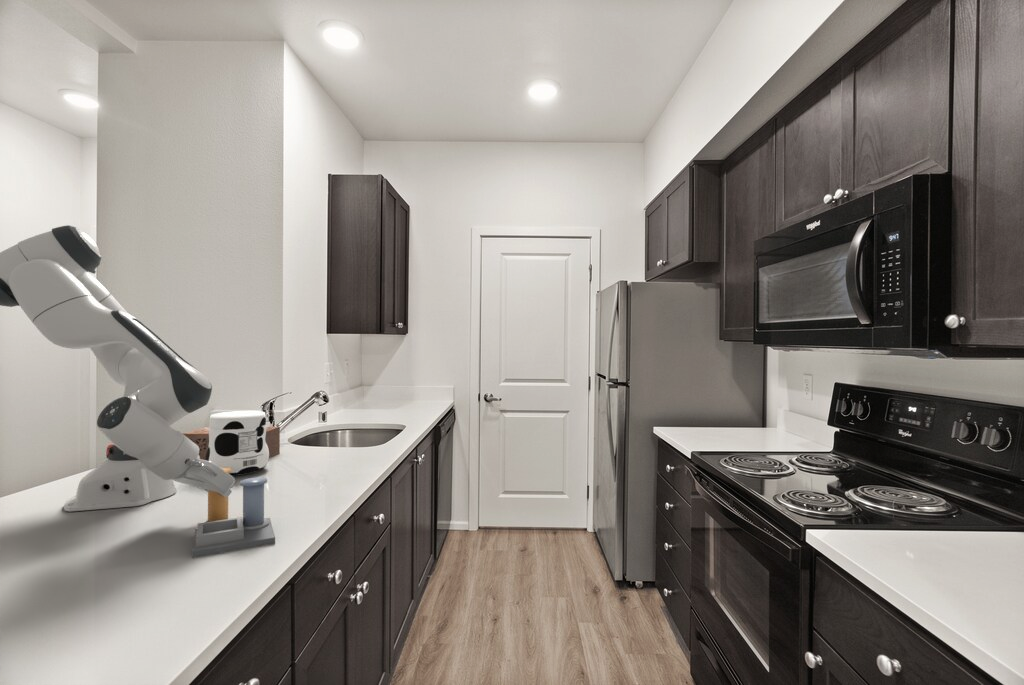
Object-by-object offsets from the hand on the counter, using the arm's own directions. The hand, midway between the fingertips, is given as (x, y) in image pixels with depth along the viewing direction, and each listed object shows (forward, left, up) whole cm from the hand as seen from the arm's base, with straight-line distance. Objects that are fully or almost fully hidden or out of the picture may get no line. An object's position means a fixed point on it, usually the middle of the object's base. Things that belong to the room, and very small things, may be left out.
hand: (220, 492), depth 115 cm
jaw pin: (-1, 0, -6) cm, 6 cm away
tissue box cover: (+3, +68, -6) cm, 68 cm away
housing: (+2, -15, -6) cm, 17 cm away
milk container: (+4, +45, -6) cm, 45 cm away
